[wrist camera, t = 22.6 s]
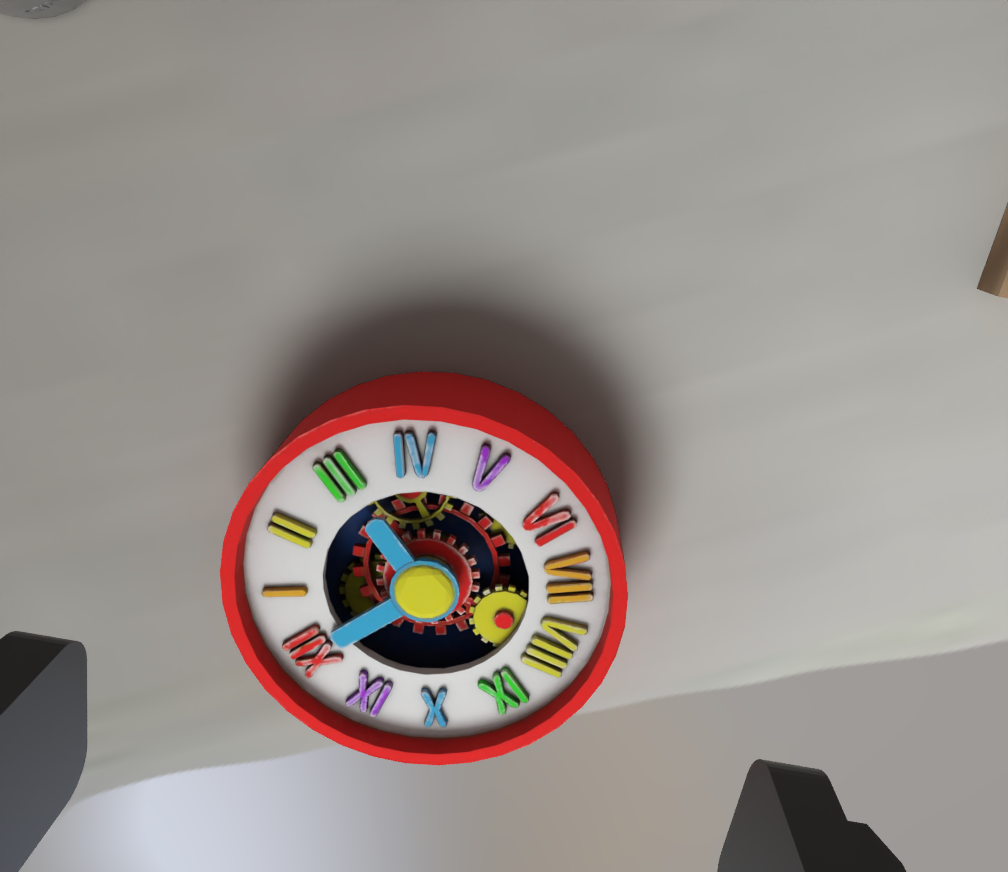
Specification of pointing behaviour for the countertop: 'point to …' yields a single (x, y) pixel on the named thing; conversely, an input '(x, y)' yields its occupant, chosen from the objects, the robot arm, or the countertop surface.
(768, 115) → the countertop surface
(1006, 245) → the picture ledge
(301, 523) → the toy clock
